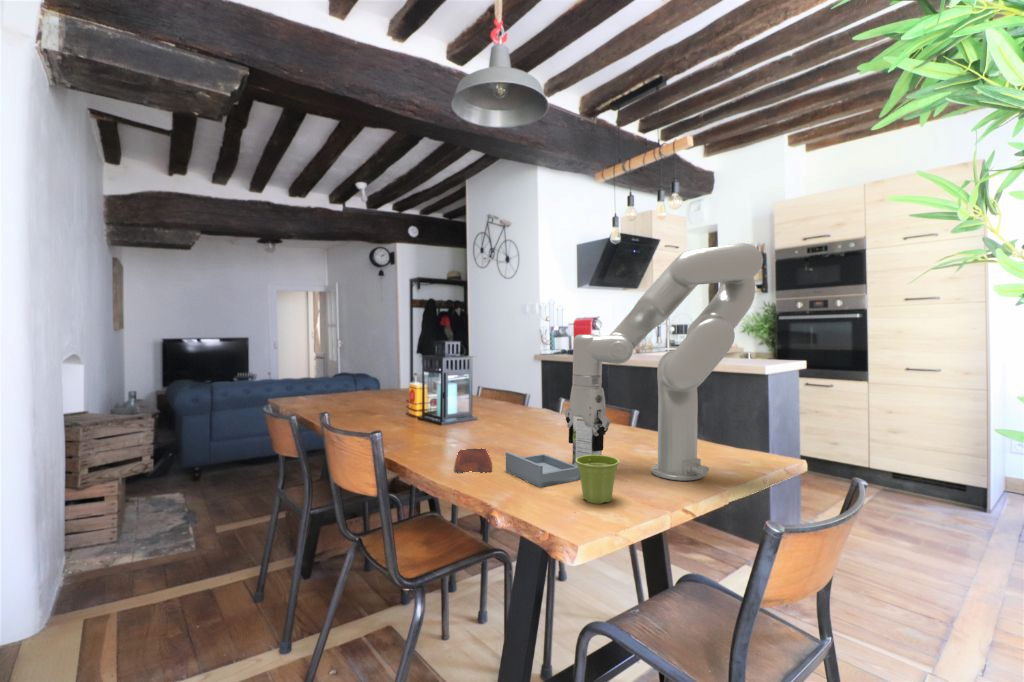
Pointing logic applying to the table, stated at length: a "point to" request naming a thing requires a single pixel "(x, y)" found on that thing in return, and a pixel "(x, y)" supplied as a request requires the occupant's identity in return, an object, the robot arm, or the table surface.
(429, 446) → the table surface
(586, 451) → the syrup box
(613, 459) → the plant pot
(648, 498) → the table surface
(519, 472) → the tray
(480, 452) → the wooden tablet
